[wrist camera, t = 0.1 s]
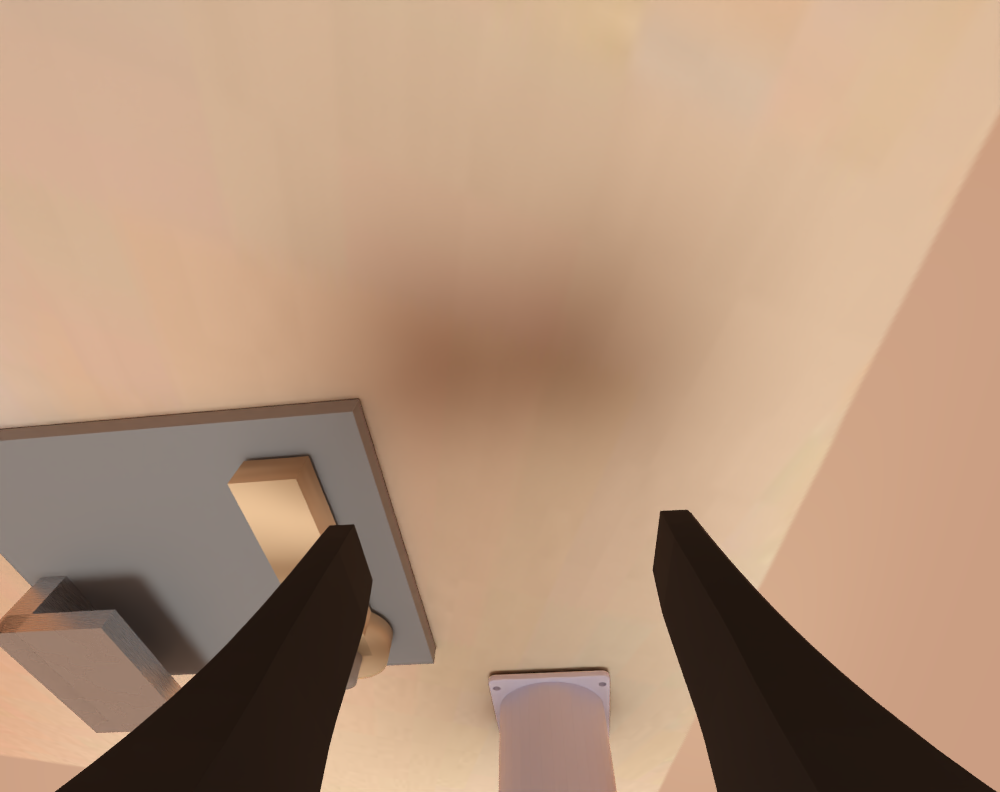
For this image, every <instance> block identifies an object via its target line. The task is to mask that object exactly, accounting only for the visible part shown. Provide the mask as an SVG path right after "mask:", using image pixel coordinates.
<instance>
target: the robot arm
mask: <svg viewBox="0 0 1000 792" xmlns="http://www.w3.org/2000/svg"><path fill="white" fill-rule="evenodd" d="M653 573H654V578H655V582H656V587H657V592H658V596H659V601H660V605H661V609H662V614H663V617H664V620H665V623H666V626H667V629H668V632H669V635H670V638H671V641H672V644H673V647H674V649H675V652H676V655H677V658H678V661H679V664H680V667H681V670H682V673H683V676H684V679H685V682H686V684H687V687H688V690H689V693H690V696H691V699H692V702H693V705H694V708H695V711H696V714H697V717H698V720H699V723H700V727H701V730H702V733H703V737H704V740H705V744H706V748H707V752H708V756H709V760H710V764H711V768H712V772H713V776H714V780H715V784H716V788H717V792H996V791H995V790H993V789H992V788H990V787H989V786H987V785H986V784H985V783H983V782H982V781H980V780H979V779H978V778H976V777H975V776H973V775H972V774H971V773H969V772H968V771H967V770H965V769H964V768H962V767H961V766H960V765H958V764H957V763H955V762H954V761H953V760H951V759H950V758H949V757H947V756H946V755H944V754H943V753H942V752H940V751H939V750H937V749H936V748H935V747H934V746H932V745H931V744H930V743H929V742H927V741H926V740H925V739H923V738H922V737H921V736H920V735H918V734H917V733H916V732H914V731H913V730H912V729H911V728H909V727H908V726H907V725H905V724H904V723H903V722H902V721H900V720H899V719H898V718H897V717H895V716H894V715H893V714H891V713H890V712H889V711H887V710H886V709H885V708H884V707H882V706H881V705H880V704H879V703H877V702H876V701H875V700H874V699H872V698H871V697H870V696H869V695H868V694H866V693H865V692H864V691H863V690H862V689H861V688H859V687H858V686H857V685H856V684H855V683H854V682H852V681H851V680H850V679H849V678H848V677H847V676H845V675H844V674H843V673H842V672H841V671H840V670H838V669H837V668H836V667H835V666H834V665H833V664H832V663H831V662H830V661H828V660H827V659H826V658H825V657H824V656H823V655H822V654H821V653H819V652H818V651H817V650H816V649H815V648H814V647H813V646H812V645H811V644H810V643H809V642H808V641H807V640H805V638H803V637H802V636H801V635H800V634H799V633H798V632H797V631H796V630H795V629H794V628H793V627H792V626H791V625H790V624H789V623H788V622H787V621H786V620H785V619H784V618H783V617H782V616H781V615H780V614H779V613H778V612H777V611H776V610H775V609H774V608H773V607H772V606H771V605H770V604H769V602H768V601H767V600H766V599H765V598H764V597H763V596H762V595H761V594H760V593H759V592H758V591H757V590H756V589H755V588H754V586H753V585H752V584H751V583H750V582H749V581H748V580H747V579H746V578H745V577H744V575H743V574H742V573H741V572H740V571H739V570H738V569H737V568H736V567H735V565H734V564H733V563H732V562H731V561H730V560H729V559H728V557H727V556H726V555H725V554H724V553H723V551H722V550H721V549H720V548H719V547H718V546H717V544H716V543H715V542H714V541H713V540H712V538H711V537H710V536H709V535H708V533H707V532H706V531H705V530H704V528H703V527H702V526H701V525H700V523H699V522H698V521H697V520H696V518H695V517H694V516H693V515H692V513H690V512H689V511H688V510H672V511H660V518H659V526H658V534H657V541H656V549H655V557H654V565H653ZM372 582H373V579H372V576H371V573H370V570H369V567H368V564H367V561H366V558H365V555H364V552H363V549H362V546H361V543H360V540H359V537H358V534H357V531H356V528H355V525H354V524H350V525H329V527H328V528H327V529H326V530H325V531H324V532H323V533H322V535H321V536H320V537H319V538H318V539H317V541H316V542H315V543H314V544H313V546H312V547H311V548H310V549H309V550H308V552H307V553H306V554H305V555H304V557H303V558H302V559H301V560H300V562H299V563H298V564H297V565H296V566H295V568H294V569H293V570H292V571H291V572H290V574H289V575H288V576H287V577H286V578H285V580H284V581H283V582H282V583H281V584H280V585H279V587H278V588H277V589H276V590H275V591H274V592H273V594H272V595H271V596H270V597H269V598H268V599H267V601H266V602H265V603H264V604H263V605H262V606H261V607H260V609H259V610H258V611H257V612H256V613H255V614H254V615H253V616H252V617H251V618H250V619H249V621H248V622H247V623H246V624H245V625H244V626H243V627H242V628H241V629H240V630H239V631H238V632H237V633H236V635H235V636H234V637H233V638H232V639H231V640H230V641H229V642H228V643H227V644H226V645H225V646H224V647H223V648H222V649H221V650H220V651H219V652H218V653H217V654H216V655H215V656H214V657H213V658H212V659H211V660H210V661H209V662H208V663H207V664H206V665H205V666H204V667H203V668H202V669H201V670H200V671H199V672H198V673H197V674H196V675H195V676H194V677H193V678H192V679H191V680H190V681H189V682H187V683H186V684H185V685H184V686H183V687H182V688H181V689H180V690H179V691H178V692H177V693H175V694H174V695H173V696H172V697H171V698H170V699H169V700H168V701H166V702H165V703H164V704H163V705H162V706H161V707H160V708H158V709H157V710H156V711H155V712H154V713H153V714H151V715H150V716H149V717H148V718H147V719H146V720H144V721H143V722H142V723H141V724H140V725H139V726H137V727H136V728H135V729H134V730H133V731H132V732H130V733H129V734H128V735H127V736H126V737H125V738H123V739H122V740H121V741H120V742H118V743H117V744H116V745H115V746H113V747H112V748H111V749H110V750H108V751H107V752H106V753H105V754H103V755H102V756H101V757H100V758H98V759H97V760H96V761H95V762H93V763H92V764H91V765H89V766H88V767H87V768H85V769H84V770H83V771H82V772H80V773H79V774H78V775H76V776H75V777H74V778H73V779H71V780H70V781H69V782H67V783H66V784H65V785H63V786H62V787H61V788H59V789H58V790H57V791H55V792H320V789H321V784H322V779H323V774H324V770H325V765H326V760H327V755H328V751H329V746H330V742H331V738H332V734H333V731H334V727H335V723H336V720H337V716H338V713H339V710H340V706H341V703H342V700H343V696H344V693H345V690H346V687H347V683H348V680H349V677H350V673H351V670H352V667H353V663H354V660H355V657H356V653H357V650H358V647H359V643H360V640H361V636H362V633H363V630H364V626H365V622H366V617H367V612H368V606H369V601H370V595H371V588H372ZM489 689H490V693H491V697H492V702H493V706H494V711H495V715H496V720H497V724H498V728H499V733H500V745H499V792H617V791H616V784H615V777H614V771H613V764H612V758H611V751H610V744H609V711H610V676H609V673H608V672H607V671H604V670H597V671H573V672H549V673H526V674H502V675H492V676H490V677H489Z"/></svg>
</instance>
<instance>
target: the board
mask: <svg viewBox="0 0 1000 792" xmlns="http://www.w3.org/2000/svg"><path fill="white" fill-rule="evenodd" d="M303 456H309V459H310V461H311V464H312V466H313V469H314V471H315V474H316V476H317V479H318V481H319V483H320V486H321V488H322V491H323V493H324V496H325V498H326V501H327V503H328V506H329V508H330V511H331V513H332V516H333V518H334V521H335V523H336V525H350V524H354V525H355V528H356V531H357V534H358V537H359V540H360V543H361V546H362V549H363V552H364V555H365V558H366V561H367V564H368V567H369V570H370V573H371V576H372V579H373V582H372V588H371V595H370V601H369V608H370V610H371V612H372V613H375V614H377V615H378V616H380V617H382V618H383V619H384V620H385V621H386V622H387V623H388V624H389V625H390V627H391V629H392V631H393V639H392V643H391V648H390V653H389V657H388V662H387V665H409V664H432V663H434V658H435V650H436V647H435V644H434V641H433V637H432V634H431V631H430V628H429V624H428V621H427V618H426V615H425V611H424V608H423V605H422V602H421V599H420V595H419V592H418V589H417V586H416V582H415V579H414V576H413V573H412V569H411V566H410V563H409V560H408V557H407V553H406V550H405V547H404V544H403V540H402V537H401V534H400V531H399V527H398V524H397V521H396V518H395V514H394V511H393V508H392V505H391V502H390V498H389V495H388V492H387V489H386V485H385V482H384V479H383V476H382V472H381V469H380V466H379V463H378V460H377V456H376V453H375V450H374V447H373V443H372V440H371V437H370V434H369V430H368V427H367V424H366V421H365V417H364V414H363V411H362V408H361V405H360V401H359V399H352V400H340V401H329V402H317V403H305V404H293V405H282V406H270V407H258V408H246V409H234V410H223V411H211V412H199V413H187V414H176V415H164V416H152V417H140V418H129V419H117V420H105V421H93V422H82V423H70V424H58V425H46V426H34V427H23V428H11V429H0V554H1V555H2V556H3V557H4V558H5V559H6V560H7V561H8V562H9V563H10V564H11V565H12V566H13V567H14V568H15V569H16V570H17V571H18V572H19V574H20V575H21V576H22V577H23V578H24V579H25V580H26V581H27V582H28V583H29V584H30V585H31V586H33V585H34V584H35V583H36V582H37V581H38V580H39V579H40V578H41V577H54V576H67V577H68V578H69V579H70V580H71V581H72V583H73V584H74V585H75V586H76V587H77V588H78V589H79V591H80V592H81V593H82V594H83V595H84V596H85V597H86V599H87V600H88V601H89V602H90V603H91V604H92V605H93V607H94V608H95V609H96V610H114V609H115V610H116V611H117V612H118V613H119V615H120V616H121V617H122V618H123V619H124V621H125V622H126V623H127V624H128V625H129V626H130V628H131V629H132V630H133V631H134V632H135V634H136V635H137V636H138V637H139V638H140V640H141V641H142V642H143V643H144V644H145V645H146V647H147V648H148V649H149V650H150V651H151V653H152V654H153V655H154V656H155V657H156V658H157V660H158V661H159V662H160V663H161V664H162V666H163V667H164V668H165V669H166V670H167V671H168V673H169V674H170V675H183V674H197V673H198V672H199V671H200V670H201V669H202V668H203V667H204V666H205V665H206V664H207V663H208V662H209V661H210V660H211V659H212V658H213V657H214V656H215V655H216V654H217V653H218V652H219V651H220V650H221V649H222V648H223V647H224V646H225V645H226V644H227V643H228V642H229V641H230V640H231V639H232V638H233V637H234V636H235V635H236V633H237V632H238V631H239V630H240V629H241V628H242V627H243V626H244V625H245V624H246V623H247V622H248V621H249V619H250V618H251V617H252V616H253V615H254V614H255V613H256V612H257V611H258V610H259V609H260V607H261V606H262V605H263V604H264V603H265V602H266V601H267V599H268V598H269V597H270V596H271V595H272V594H273V592H274V591H275V590H276V589H277V588H278V587H279V585H280V584H281V583H280V582H279V580H278V578H277V576H276V574H275V572H274V570H273V569H272V567H271V565H270V563H269V561H268V559H267V557H266V555H265V554H264V552H263V550H262V548H261V546H260V544H259V542H258V540H257V539H256V537H255V535H254V533H253V531H252V529H251V527H250V525H249V524H248V522H247V520H246V518H245V516H244V514H243V512H242V510H241V509H240V507H239V505H238V503H237V501H236V499H235V497H234V496H233V494H232V492H231V490H230V488H229V486H228V482H229V481H230V479H231V478H232V477H233V475H234V474H235V473H236V471H237V470H238V468H239V467H240V466H241V464H242V463H243V461H251V460H264V459H277V458H290V457H303ZM387 665H386V666H387Z"/></svg>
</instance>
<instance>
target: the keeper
mask: <svg viewBox="0 0 1000 792" xmlns="http://www.w3.org/2000/svg"><path fill="white" fill-rule="evenodd" d="M0 647H1V648H3V649H4V650H5V651H6V652H7V653H8V654H9V655H10V656H11V657H13V658H14V659H15V660H16V661H17V662H18V663H19V664H20V665H22V666H23V667H24V668H25V669H26V670H27V671H28V672H29V673H30V674H32V675H33V676H34V677H35V678H36V679H37V680H38V681H39V682H40V683H42V684H43V685H44V686H45V687H46V688H47V689H48V690H49V691H51V692H52V693H53V694H54V695H55V696H56V697H57V698H58V699H59V700H61V701H62V702H63V703H64V704H65V705H66V706H67V707H68V708H70V709H71V710H72V711H73V712H74V713H75V714H76V715H77V716H78V717H80V718H81V719H82V720H83V721H84V722H85V723H86V724H87V725H89V726H90V727H91V728H92V729H93V730H94V731H95V732H96V733H106V732H132V731H133V730H134V729H135V728H136V727H137V726H139V725H140V724H141V723H142V722H143V721H144V720H146V719H147V718H148V717H149V716H150V715H151V714H153V713H154V712H155V711H156V710H157V709H158V708H160V707H161V706H162V705H163V704H164V703H165V702H166V701H168V700H169V699H170V698H171V697H172V696H173V695H174V694H175V693H177V692H178V691H179V690H180V689H181V687H180V686H179V684H178V683H177V682H176V681H175V680H174V679H173V677H172V676H171V675H170V674H169V673H168V671H167V670H166V669H165V668H164V667H163V666H162V664H161V663H160V662H159V661H158V660H157V658H156V657H155V656H154V655H153V654H152V653H151V651H150V650H149V649H148V648H147V647H146V645H145V644H144V643H143V642H142V641H141V640H140V638H139V637H138V636H137V635H136V634H135V632H134V631H133V630H132V629H131V628H130V626H129V625H128V624H127V623H126V622H125V621H124V619H123V618H122V617H121V616H120V615H119V613H118V612H117V611H116V610H115V609H114V610H96V609H95V608H94V607H93V605H92V604H91V603H90V602H89V601H88V600H87V599H86V597H85V596H84V595H83V594H82V593H81V592H80V591H79V589H78V588H77V587H76V586H75V585H74V584H73V583H72V581H71V580H70V579H69V578H68V577H67V576H54V577H41V578H40V579H39V580H38V581H37V582H36V583H35V584H34V585H33V586H32V587H31V588H30V589H29V590H28V591H27V592H26V593H25V594H24V596H23V597H22V598H21V599H20V600H19V601H18V602H17V603H16V604H15V605H14V606H13V607H12V608H11V609H10V610H9V611H8V612H7V613H6V614H5V615H4V616H3V617H2V618H1V619H0Z"/></svg>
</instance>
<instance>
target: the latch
mask: <svg viewBox="0 0 1000 792" xmlns="http://www.w3.org/2000/svg"><path fill="white" fill-rule="evenodd" d="M228 486H229V488H230V490H231V492H232V494H233V496H234V497H235V499H236V501H237V503H238V505H239V507H240V509H241V510H242V512H243V514H244V516H245V518H246V520H247V522H248V524H249V525H250V527H251V529H252V531H253V533H254V535H255V537H256V539H257V540H258V542H259V544H260V546H261V548H262V550H263V552H264V554H265V555H266V557H267V559H268V561H269V563H270V565H271V567H272V569H273V570H274V572H275V574H276V576H277V578H278V580H279V582H280V583H282V582H283V581H284V580H285V578H286V577H287V576H288V575H289V574H290V572H291V571H292V570H293V569H294V568H295V566H296V565H297V564H298V563H299V562H300V560H301V559H302V558H303V557H304V555H305V554H306V553H307V552H308V550H309V549H310V548H311V547H312V546H313V544H314V543H315V542H316V541H317V539H318V538H319V537H320V536H321V535H322V533H323V532H324V531H325V530H326V529H327V528H328V527H329V525H336V523H335V521H334V518H333V516H332V513H331V511H330V508H329V506H328V503H327V501H326V498H325V496H324V493H323V491H322V488H321V486H320V483H319V481H318V479H317V476H316V474H315V471H314V469H313V466H312V464H311V461H310V459H309V456H303V457H290V458H277V459H264V460H251V461H243V463H242V464H241V466H240V467H239V468H238V470H237V471H236V473H235V474H234V475H233V477H232V478H231V479H230V481H229V482H228ZM392 639H393V631H392V629H391V627H390V625H389V624H388V623H387V622H386V621H385V620H384V619H383V618H382V617H380V616H378V615H377V614H375V613H372V612H371V610H370V608H369V606H368V612H367V617H366V622H365V626H364V630H363V633H362V636H361V640H360V643H359V647H358V650H357V653H356V657H355V660H354V663H353V667H352V670H351V673H350V677H349V680H348V683H347V687H346V689H350V688H352V687H354V686H355V685H356V682H357V679H363V678H368V677H372V676H375V675H377V674H379V673H380V672H382V671H383V670H384V669H385V667H386V665H387V662H388V657H389V653H390V648H391V643H392Z"/></svg>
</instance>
